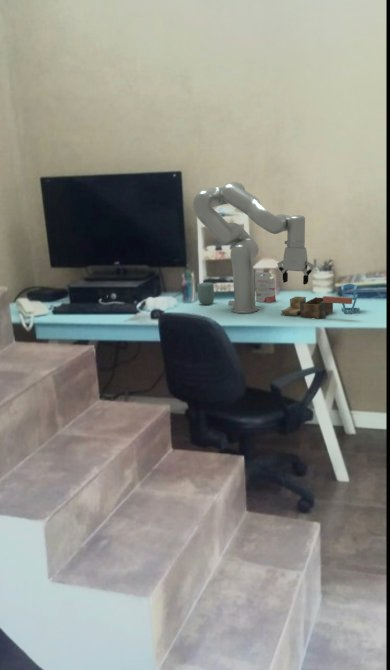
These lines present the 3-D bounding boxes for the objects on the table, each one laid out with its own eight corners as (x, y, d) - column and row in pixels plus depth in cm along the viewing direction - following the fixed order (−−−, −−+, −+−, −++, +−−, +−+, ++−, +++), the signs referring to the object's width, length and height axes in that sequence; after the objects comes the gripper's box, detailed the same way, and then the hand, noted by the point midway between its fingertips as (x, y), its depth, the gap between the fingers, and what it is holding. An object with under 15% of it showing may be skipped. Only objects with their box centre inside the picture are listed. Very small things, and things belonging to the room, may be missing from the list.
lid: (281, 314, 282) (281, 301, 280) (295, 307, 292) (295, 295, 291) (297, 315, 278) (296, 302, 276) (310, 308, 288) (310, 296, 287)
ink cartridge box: (276, 300, 312) (274, 270, 308) (271, 303, 308) (270, 272, 304) (260, 299, 316) (259, 270, 313) (255, 302, 313) (254, 272, 309)
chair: (339, 314, 277) (338, 286, 274) (341, 309, 284) (341, 282, 281) (357, 314, 274) (357, 286, 271) (359, 309, 282) (359, 282, 279)
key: (323, 302, 269) (322, 296, 268) (324, 301, 270) (324, 295, 270) (350, 304, 262) (350, 298, 261) (352, 303, 263) (352, 297, 263)
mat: (280, 314, 283) (280, 313, 283) (292, 308, 293) (292, 308, 292) (301, 316, 277) (301, 315, 277) (312, 310, 287) (312, 309, 287)
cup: (217, 302, 317) (216, 282, 315) (209, 306, 311) (207, 285, 309) (204, 301, 322) (202, 282, 319) (195, 305, 315) (194, 285, 313)
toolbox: (300, 317, 276) (299, 301, 274) (313, 310, 287) (313, 295, 285) (322, 319, 270) (322, 303, 268) (335, 311, 281) (335, 296, 279)
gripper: (274, 244, 281) (273, 282, 285) (310, 246, 271) (309, 286, 276) (281, 242, 286) (281, 279, 291) (318, 244, 277) (317, 283, 282)
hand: (295, 283), depth 283 cm, fingers open, 9 cm apart
